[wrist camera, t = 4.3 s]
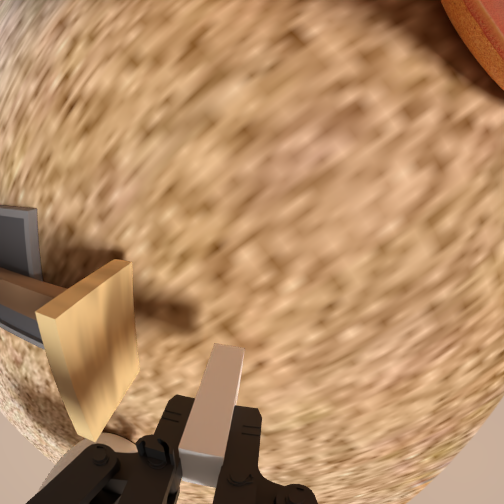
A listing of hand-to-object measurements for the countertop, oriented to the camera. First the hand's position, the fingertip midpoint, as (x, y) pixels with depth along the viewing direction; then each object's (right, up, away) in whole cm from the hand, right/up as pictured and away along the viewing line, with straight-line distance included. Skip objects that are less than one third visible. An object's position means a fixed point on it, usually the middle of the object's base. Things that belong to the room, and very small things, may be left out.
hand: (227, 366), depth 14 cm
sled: (-23, +4, +4) cm, 24 cm away
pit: (-20, +4, +5) cm, 21 cm away
